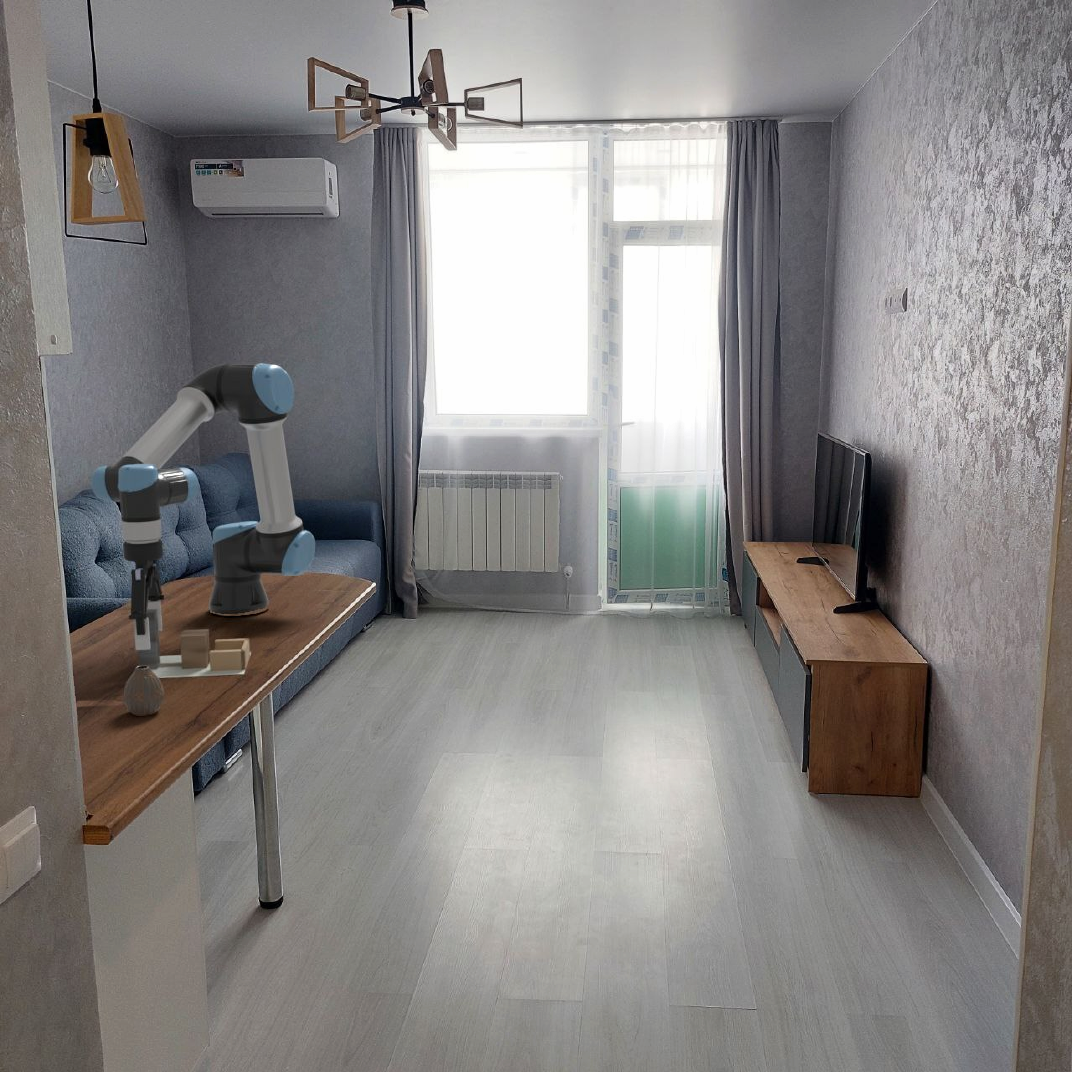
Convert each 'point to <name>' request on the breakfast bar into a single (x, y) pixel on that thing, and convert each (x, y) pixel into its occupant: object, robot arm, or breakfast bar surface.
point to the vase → (143, 692)
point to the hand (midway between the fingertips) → (149, 640)
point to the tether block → (192, 647)
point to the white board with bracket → (212, 661)
